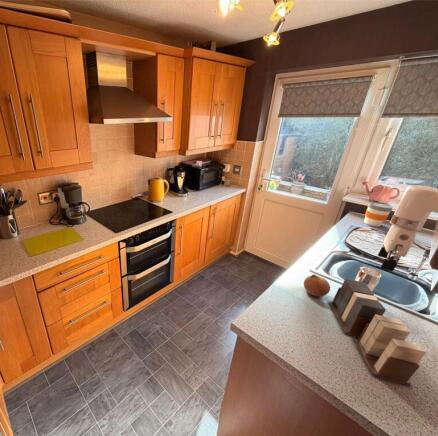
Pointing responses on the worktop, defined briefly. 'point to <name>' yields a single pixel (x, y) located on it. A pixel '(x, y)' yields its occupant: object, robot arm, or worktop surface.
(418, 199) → the robot arm
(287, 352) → the worktop surface
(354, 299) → the cream book
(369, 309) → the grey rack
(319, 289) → the onion
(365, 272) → the beer glass
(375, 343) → the cream rack
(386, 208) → the reusable coffee cup
